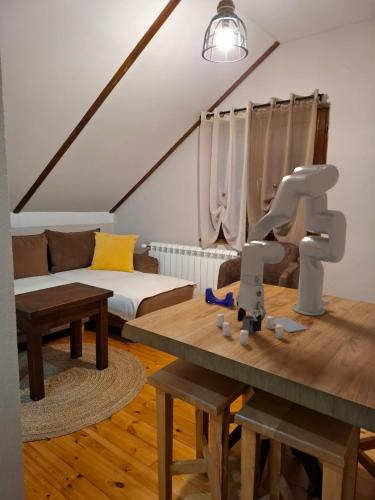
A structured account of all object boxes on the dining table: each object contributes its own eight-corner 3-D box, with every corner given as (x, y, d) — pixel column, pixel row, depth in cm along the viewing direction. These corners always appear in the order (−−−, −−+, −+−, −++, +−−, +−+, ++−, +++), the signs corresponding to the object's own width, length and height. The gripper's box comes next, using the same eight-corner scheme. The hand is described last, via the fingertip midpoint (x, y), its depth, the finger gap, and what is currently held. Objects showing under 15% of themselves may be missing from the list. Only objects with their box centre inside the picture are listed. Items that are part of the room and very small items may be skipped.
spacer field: (257, 318, 135) (258, 308, 134) (289, 337, 118) (290, 326, 117) (210, 325, 127) (211, 314, 126) (237, 346, 110) (237, 334, 109)
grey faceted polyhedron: (251, 328, 125) (251, 314, 124) (258, 332, 121) (259, 319, 120) (239, 329, 123) (239, 316, 122) (245, 334, 119) (246, 320, 118)
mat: (286, 318, 136) (286, 317, 136) (308, 329, 125) (308, 328, 125) (267, 320, 132) (267, 319, 132) (288, 332, 122) (288, 331, 121)
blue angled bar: (233, 304, 151) (234, 291, 150) (229, 307, 148) (229, 294, 147) (210, 299, 158) (210, 286, 157) (205, 302, 154) (205, 289, 153)
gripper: (276, 284, 113) (272, 333, 115) (247, 272, 128) (244, 316, 131) (256, 286, 110) (253, 337, 113) (229, 273, 125) (227, 318, 128)
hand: (248, 325), depth 122 cm, fingers open, 9 cm apart
